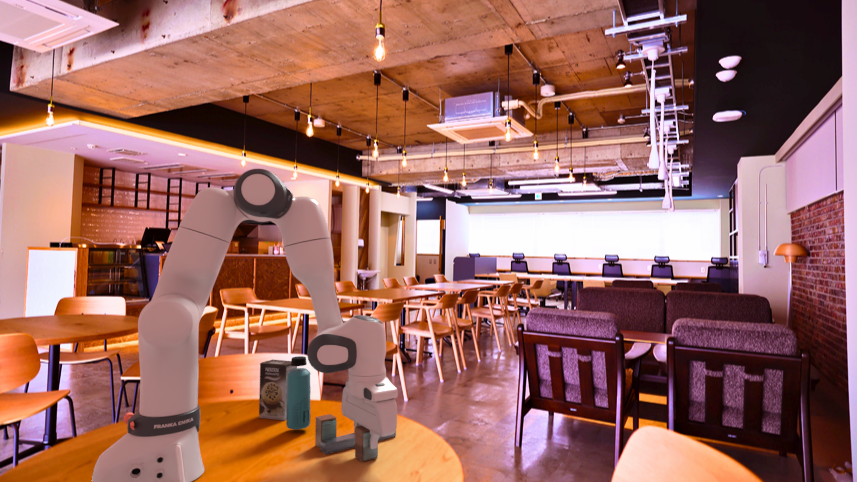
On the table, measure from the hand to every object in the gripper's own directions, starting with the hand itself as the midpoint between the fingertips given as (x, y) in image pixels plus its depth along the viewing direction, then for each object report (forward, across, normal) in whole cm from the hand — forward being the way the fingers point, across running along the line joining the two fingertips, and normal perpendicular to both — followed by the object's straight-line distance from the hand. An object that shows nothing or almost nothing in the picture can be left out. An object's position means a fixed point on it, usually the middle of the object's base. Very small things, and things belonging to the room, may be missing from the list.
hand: (366, 444), depth 112 cm
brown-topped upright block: (+3, 0, 0) cm, 3 cm away
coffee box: (+3, -43, -6) cm, 44 cm away
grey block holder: (+3, -11, +3) cm, 12 cm away
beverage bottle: (+3, -27, -6) cm, 28 cm away
